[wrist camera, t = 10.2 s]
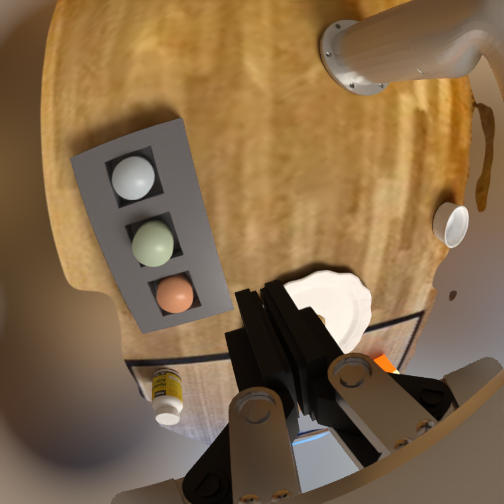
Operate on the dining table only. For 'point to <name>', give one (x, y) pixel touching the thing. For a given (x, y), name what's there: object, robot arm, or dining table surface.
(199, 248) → the button panel
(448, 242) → the ramekin
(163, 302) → the terracotta button
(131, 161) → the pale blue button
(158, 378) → the supplement bottle
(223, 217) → the dining table surface
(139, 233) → the sage button
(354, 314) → the plate
